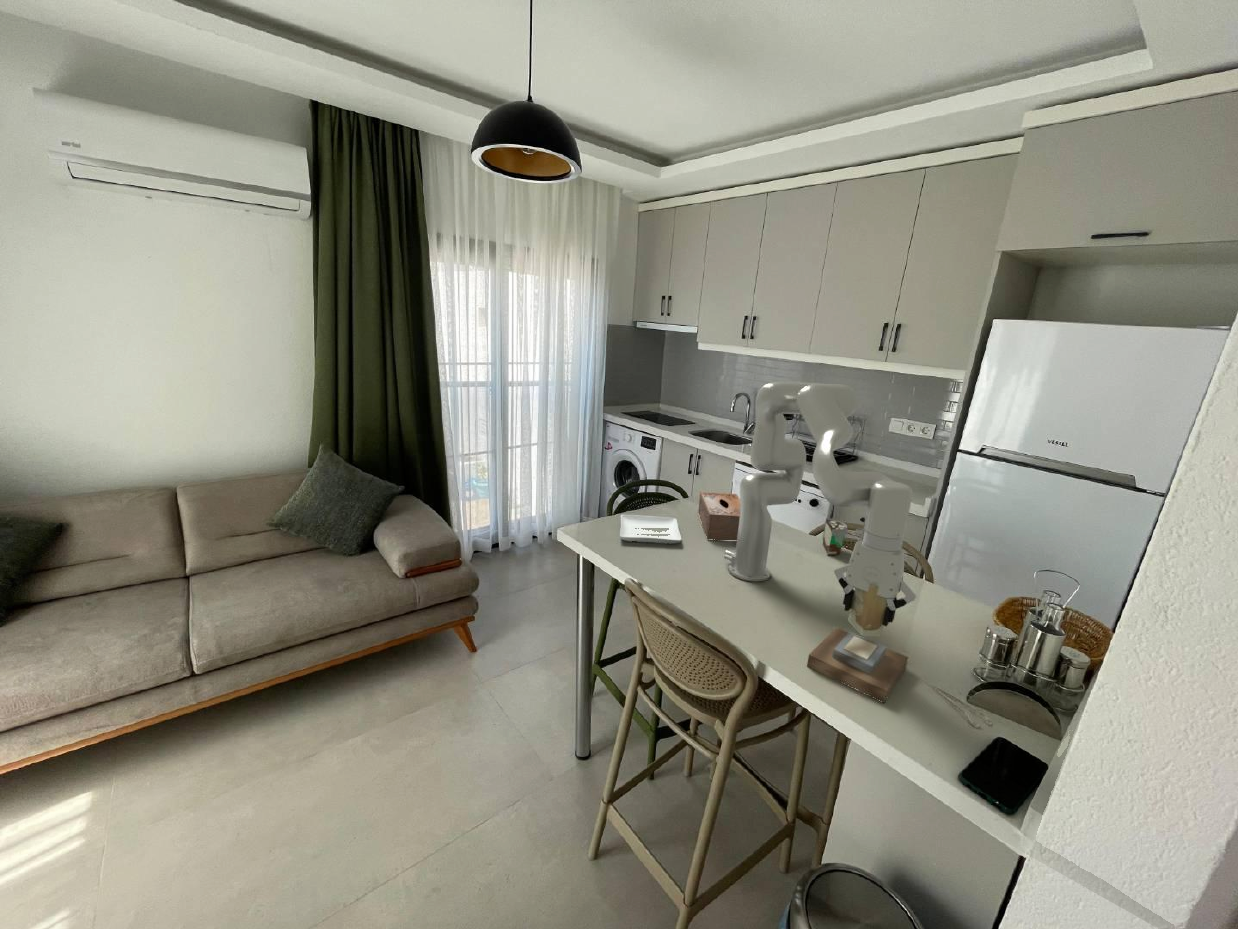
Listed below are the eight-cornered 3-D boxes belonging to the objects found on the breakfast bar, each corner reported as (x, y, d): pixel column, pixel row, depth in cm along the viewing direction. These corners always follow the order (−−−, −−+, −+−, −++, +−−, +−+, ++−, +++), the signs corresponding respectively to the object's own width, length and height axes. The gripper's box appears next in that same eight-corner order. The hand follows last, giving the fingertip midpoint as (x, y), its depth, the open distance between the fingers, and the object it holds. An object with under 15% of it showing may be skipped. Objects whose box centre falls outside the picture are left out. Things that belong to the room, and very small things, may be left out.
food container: (847, 560, 169) (852, 532, 167) (828, 557, 170) (833, 529, 168) (839, 545, 181) (844, 519, 179) (821, 543, 182) (826, 517, 180)
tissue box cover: (697, 515, 204) (700, 491, 202) (733, 517, 204) (736, 494, 202) (707, 540, 179) (709, 514, 177) (747, 543, 179) (751, 516, 177)
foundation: (806, 666, 113) (810, 646, 111) (833, 637, 124) (837, 619, 123) (884, 703, 102) (888, 681, 101) (905, 668, 114) (910, 648, 112)
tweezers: (993, 727, 98) (995, 718, 98) (974, 732, 97) (976, 722, 96) (917, 675, 115) (918, 667, 114) (900, 678, 113) (902, 670, 113)
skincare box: (847, 620, 113) (856, 571, 110) (865, 620, 114) (875, 571, 111) (862, 637, 107) (873, 585, 104) (882, 637, 108) (893, 585, 105)
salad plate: (681, 548, 172) (682, 539, 171) (619, 545, 172) (619, 535, 171) (675, 525, 193) (676, 517, 192) (619, 522, 192) (620, 514, 192)
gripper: (833, 532, 108) (820, 606, 113) (924, 559, 97) (906, 640, 101) (845, 524, 114) (832, 595, 118) (933, 548, 102) (915, 626, 107)
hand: (866, 615), depth 110 cm, fingers closed on skincare box, 7 cm apart
